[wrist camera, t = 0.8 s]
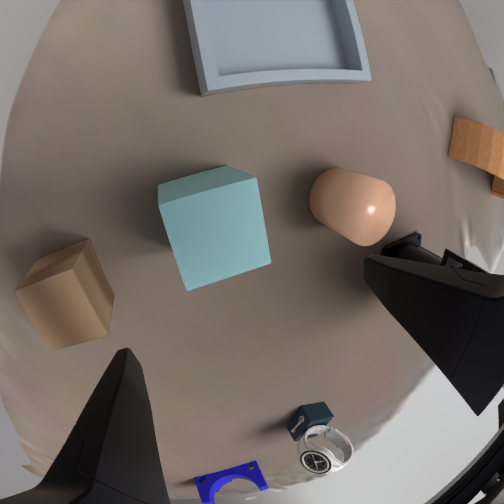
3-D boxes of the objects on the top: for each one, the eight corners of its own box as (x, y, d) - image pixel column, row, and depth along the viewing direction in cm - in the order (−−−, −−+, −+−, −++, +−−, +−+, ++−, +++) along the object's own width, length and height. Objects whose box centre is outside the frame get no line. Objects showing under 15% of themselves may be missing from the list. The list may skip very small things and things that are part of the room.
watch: (290, 407, 34) (326, 468, 24) (332, 400, 37) (369, 451, 28) (275, 428, 35) (305, 485, 26) (316, 420, 39) (347, 469, 29)
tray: (321, -33, 13) (337, -43, 11) (351, 83, 19) (371, 80, 17) (176, -39, 10) (179, -56, 8) (201, 96, 16) (207, 90, 14)
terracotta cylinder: (354, 163, 22) (395, 174, 18) (357, 216, 24) (394, 235, 20) (305, 173, 21) (343, 186, 17) (311, 231, 23) (346, 254, 19)
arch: (453, 115, 24) (520, 128, 15) (497, 165, 32) (541, 181, 23) (446, 156, 26) (514, 176, 17) (491, 195, 34) (534, 213, 25)
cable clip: (201, 482, 39) (209, 506, 34) (194, 476, 37) (202, 502, 32) (258, 465, 42) (269, 489, 36) (255, 459, 39) (266, 485, 34)
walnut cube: (89, 237, 17) (72, 268, 13) (114, 294, 20) (108, 335, 15) (37, 258, 16) (13, 291, 12) (65, 310, 19) (51, 350, 14)
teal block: (227, 165, 19) (256, 177, 14) (240, 229, 21) (271, 263, 16) (157, 184, 18) (158, 205, 12) (177, 249, 20) (186, 291, 15)
